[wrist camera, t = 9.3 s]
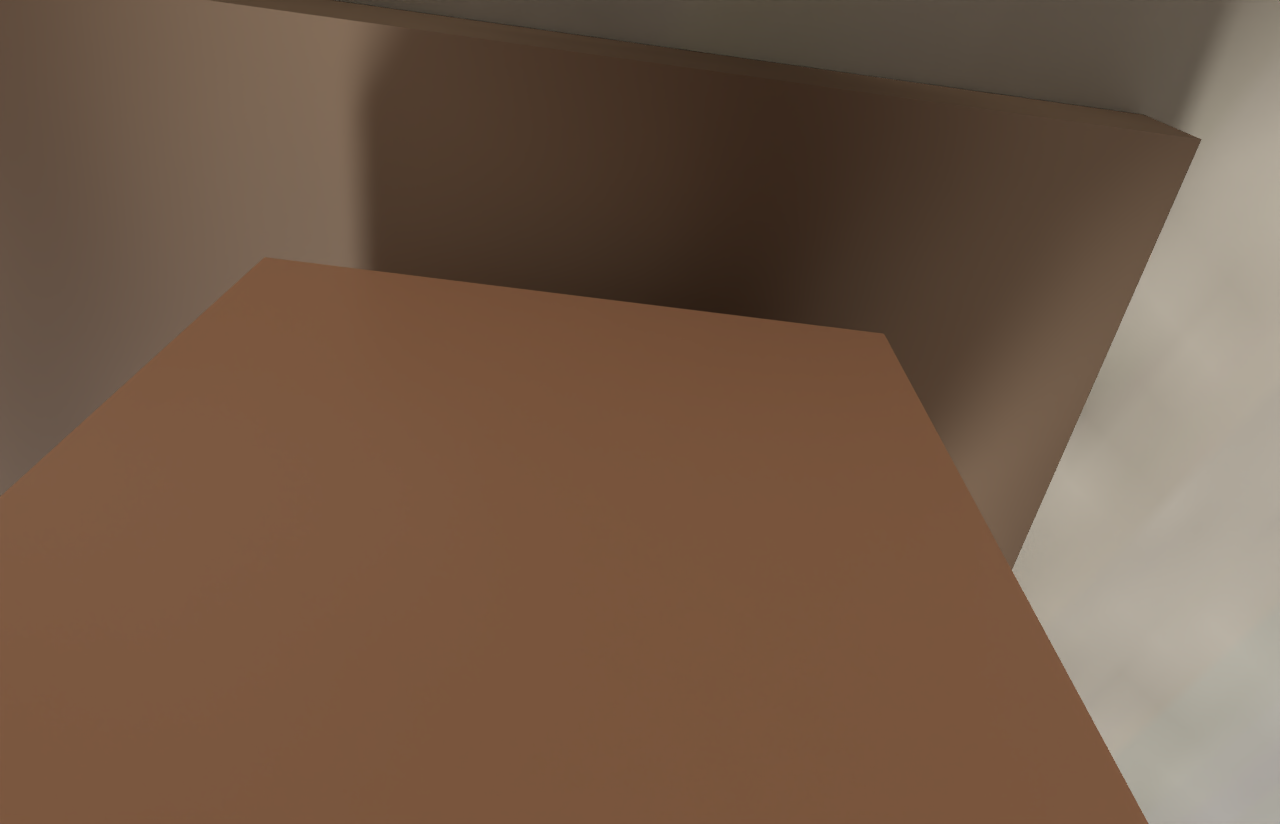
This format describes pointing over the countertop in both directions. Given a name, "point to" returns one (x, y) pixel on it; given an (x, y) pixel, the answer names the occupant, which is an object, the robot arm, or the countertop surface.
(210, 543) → the tan copper cube
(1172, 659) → the countertop surface
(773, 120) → the board
